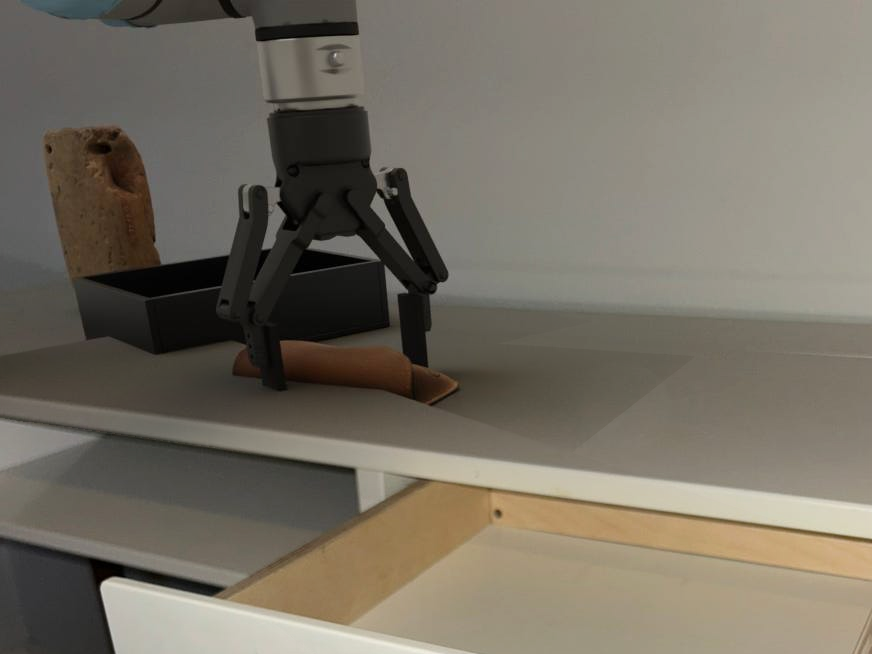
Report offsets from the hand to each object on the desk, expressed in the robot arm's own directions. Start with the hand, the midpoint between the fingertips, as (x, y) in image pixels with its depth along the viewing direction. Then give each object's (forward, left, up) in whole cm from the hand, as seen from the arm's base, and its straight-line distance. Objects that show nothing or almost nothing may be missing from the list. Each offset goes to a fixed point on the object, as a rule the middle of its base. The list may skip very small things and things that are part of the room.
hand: (349, 388), depth 89 cm
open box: (+4, +29, 0) cm, 29 cm away
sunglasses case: (0, 0, 0) cm, 0 cm away
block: (+1, +53, 0) cm, 53 cm away
